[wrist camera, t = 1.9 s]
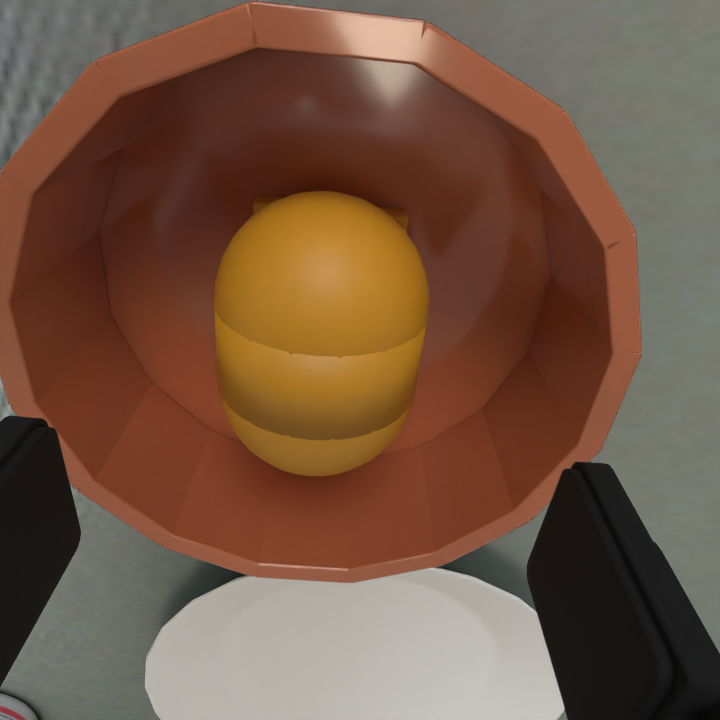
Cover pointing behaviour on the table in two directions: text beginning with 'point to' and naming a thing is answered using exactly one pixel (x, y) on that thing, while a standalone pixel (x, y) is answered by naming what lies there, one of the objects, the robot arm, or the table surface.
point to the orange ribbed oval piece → (319, 330)
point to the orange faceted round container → (281, 179)
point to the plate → (354, 652)
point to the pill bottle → (14, 709)
